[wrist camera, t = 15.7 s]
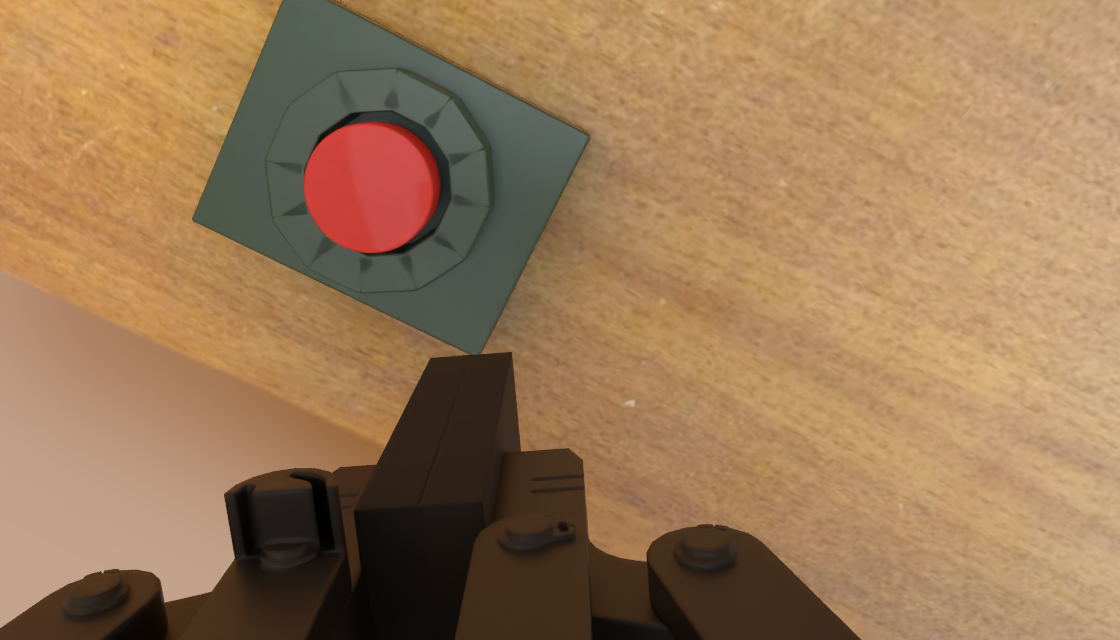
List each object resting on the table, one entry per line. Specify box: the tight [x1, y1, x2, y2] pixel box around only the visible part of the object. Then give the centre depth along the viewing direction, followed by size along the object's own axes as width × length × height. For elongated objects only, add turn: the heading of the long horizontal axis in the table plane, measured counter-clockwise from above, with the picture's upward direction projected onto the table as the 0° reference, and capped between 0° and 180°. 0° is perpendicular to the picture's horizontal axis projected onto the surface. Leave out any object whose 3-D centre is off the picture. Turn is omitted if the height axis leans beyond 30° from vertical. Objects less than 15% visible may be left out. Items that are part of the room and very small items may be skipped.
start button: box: [304, 121, 441, 253], centre depth 27 cm, size 4×4×2 cm
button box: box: [192, 0, 590, 355], centre depth 29 cm, size 10×8×4 cm
